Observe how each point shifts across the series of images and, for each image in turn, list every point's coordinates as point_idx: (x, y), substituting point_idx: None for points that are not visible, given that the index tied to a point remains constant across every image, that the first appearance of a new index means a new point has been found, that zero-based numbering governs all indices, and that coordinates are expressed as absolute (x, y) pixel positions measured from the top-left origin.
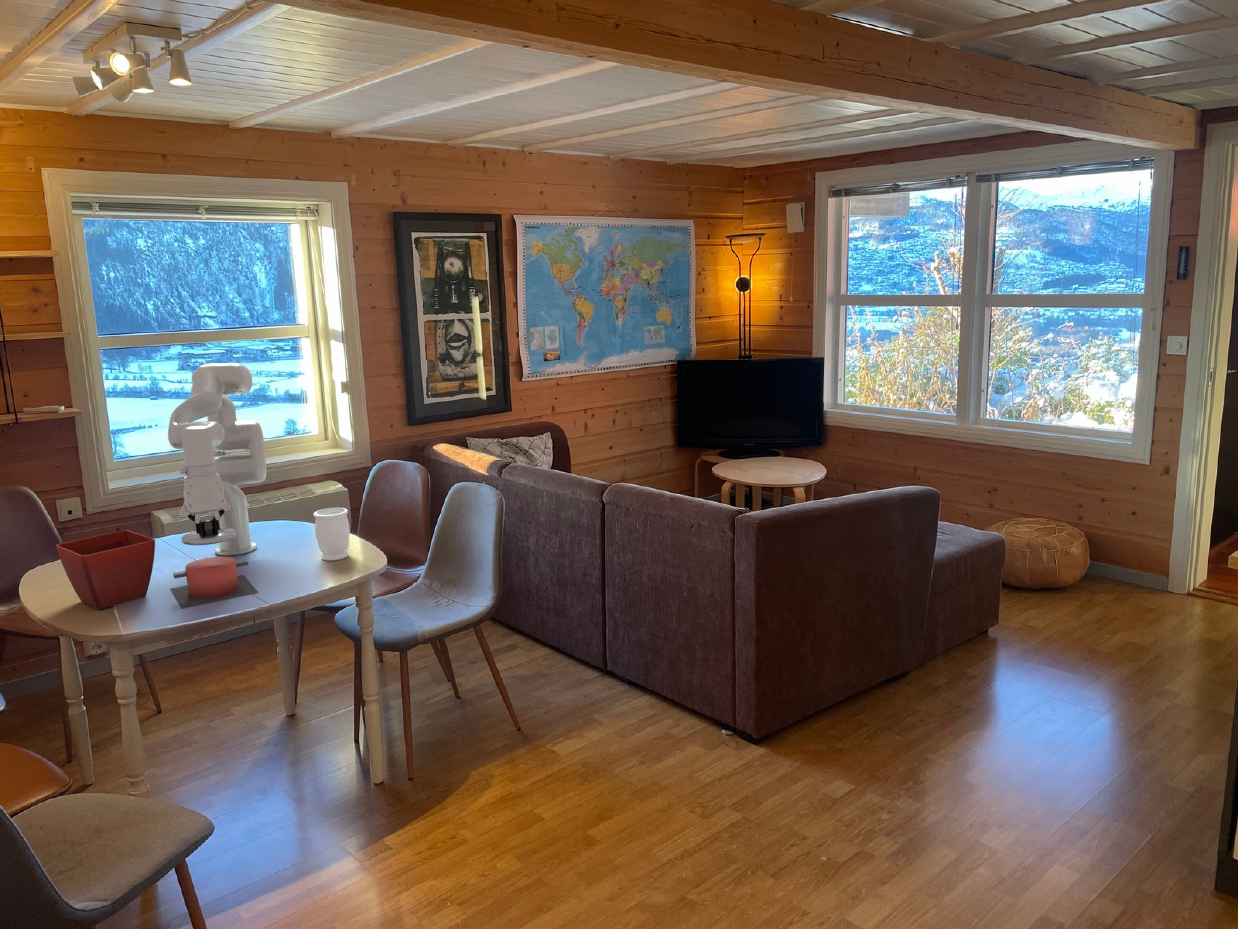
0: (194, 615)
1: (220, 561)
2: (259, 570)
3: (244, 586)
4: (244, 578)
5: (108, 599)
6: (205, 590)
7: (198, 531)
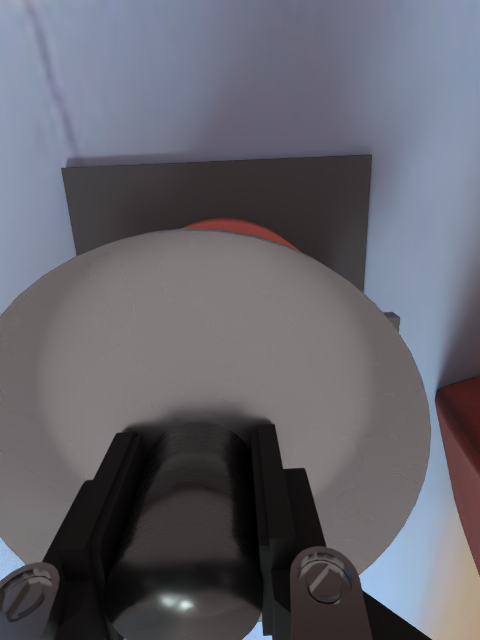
0: (337, 52)
1: None
2: None
3: None
4: None
5: None
6: (267, 229)
7: (295, 478)
